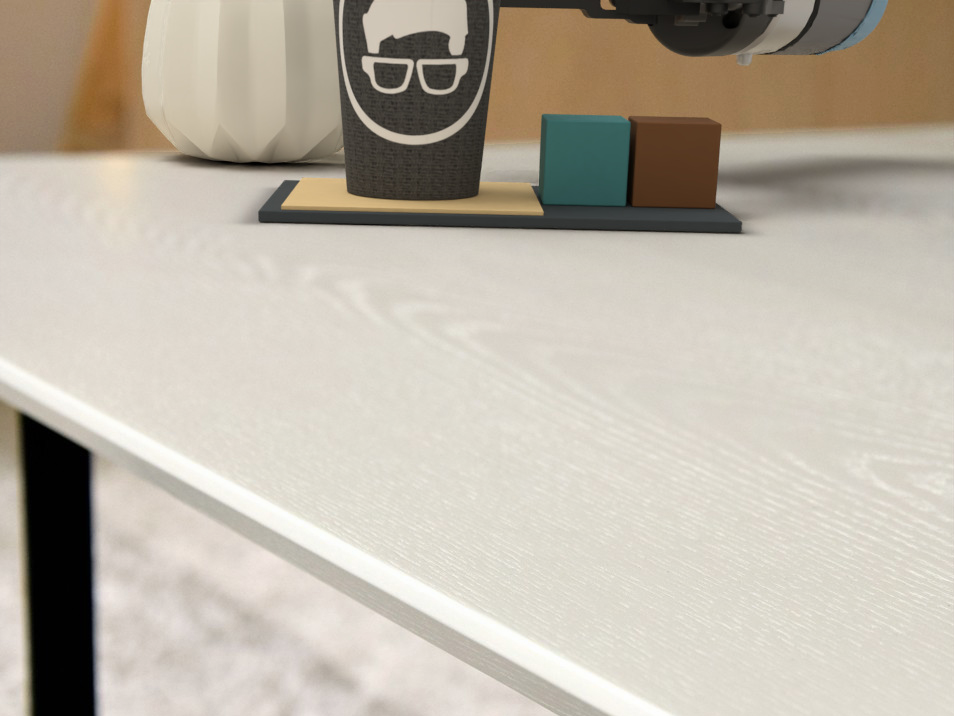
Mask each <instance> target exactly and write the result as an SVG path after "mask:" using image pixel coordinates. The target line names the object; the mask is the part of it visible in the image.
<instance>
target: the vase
mask: <svg viewBox="0 0 954 716" xmlns="http://www.w3.org/2000/svg"><path fill="white" fill-rule="evenodd" d="M147 13H148V14H147V20H146V25H145V30H144V31H145V33H144V38H143V39H144V40H143V46H142V58H141V70H140V71H141V94H142V95H141V96H142V101H143V105H144V109H145V114H146V116H147V118H149V120H150V121H151V122H152V123H153V125H154V126H155V127H156V128H157V129H158V130H159V132H161V134H162V135H163V136H164V137H165V138H166V139H167V140H168V141H169V143H171V144H172V145H173V147H174V148H176V150H177V151H178V152H180V153H181V154H184V155H186V156H191V157H195V158H199V159H204V160H209V161H214V162H232V163H239V164H247V163H264V164H276V163H277V164H278V163H300V162H306V161H312V160H318V159H324V158H328V157H332V156H333V155H335V154H336V153H338V152H340V150H342V149H344V144H343V130H342V116H341V103H340V89H339V76H338V62H337V49H336V35H335V22H334V9H333V0H150V3H149V9H148V12H147Z"/></svg>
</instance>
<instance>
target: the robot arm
mask: <svg viewBox="0 0 954 716" xmlns="http://www.w3.org/2000/svg"><path fill="white" fill-rule="evenodd" d="M601 2H602V0H501V2H500V8H512V9H513V8H514V9H561V10H579V11H581V13H582V15H583V16H584V17H585V18H588V19H595V20H596V19H600V20H625V22H627V23H628V24H632V25H647V27H648V29H649V31H650V32H651V34H652V36H653V37H654V38H655V39H656V41H658V43H660V44H661V45H662V46H663V47H664V48H666V49H667V50H668V51H670V52H672V53H675V54H677V55H680V56H684V57H689V58H700V57H701V58H702V57H703V58H707V57H725V56H735V57H736V60H735V63H736V64H737V65H739V66H746V67H747V66H750V65H751V64H752V63H753V56H755V55H757V56H812V55H814V56H821V55H825V54H828V53H832V52H837V51H843V50H846V49H849V48H851V47H853V46H855V45H857V44H859V43H861V42H862V41H863V40H865V39H866V38H867V37H868V36H869V35H870V34H872V32H873V31H874V30H875V29H876V28H877V26H878V25H879V23H880V22H881V19H882V18H883V16H884V13H885V11H886V9H887V6H888V3H889V0H608V3H609V4H610V5H611V6H612V7H613V8H615V9H605V8H603V7H602V4H601Z"/></svg>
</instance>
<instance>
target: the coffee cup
mask: <svg viewBox="0 0 954 716" xmlns="http://www.w3.org/2000/svg"><path fill="white" fill-rule="evenodd" d="M500 2H501V0H333V9H334V22H335V35H336V49H337V62H338V76H339V89H340V103H341V116H342V130H343V144H344V147H343V157H344V169H345V171H344V172H345V178H346V185H347V191H348V192H349V193H351V194H354V195H358V196H364V197H372V198H382V199H397V200H451V199H462V198H469V197H474V196H476V195H478V193H479V185H480V182H481V175H482V167H483V158H484V149H485V140H486V131H487V124H488V123H487V122H488V116H489V115H488V114H489V105H490V98H491V97H490V96H491V87H492V79H493V70H494V68H493V67H494V63H495V62H494V61H495V54H496V53H495V51H496V44H497V35H498V26H499V17H500V9H501V7H500Z"/></svg>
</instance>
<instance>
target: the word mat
mask: <svg viewBox="0 0 954 716" xmlns="http://www.w3.org/2000/svg"><path fill="white" fill-rule="evenodd" d="M540 120H541V121H540V139H539V140H540V142H539V164H538V165H539V166H538V184H537V185H532V184H531V183H530V182H519V181H517V182H511V181H480V185H479V193H478V195H476V196H474V197H469V198H462V199H451V200H397V199H382V198H372V197H364V196H358V195H354V194H351V193H349V192H348V191H347V185H346V177H345V178H344V177H343V178H338V177H301V178H300V179H298V180H297V179H284V180H283V181H282V183H280V185H279V186H278V187H277V189H275V191H274V192H273V193H272V194H271V195H270V196H269V198H268V199H267V200H266V201H265V202H264V204H263V205H262V206H261V207H260V209H259V210H258V212H257V213H258V214H257V217H258V218H257V220H258V222H262V223H269V222H270V223H299V224H300V223H301V224H304V223H305V224H306V223H308V224H347V225H350V224H352V225H387V226H388V225H389V226H391V225H392V226H396V225H399V226H432V227H433V226H434V227H435V226H436V227H475V228H477V227H478V228H515V229H517V228H518V229H519V228H522V229H524V228H525V229H561V230H562V229H565V230H566V229H567V230H602V231H603V230H604V231H605V230H607V231H609V230H611V231H646V232H647V231H648V232H649V231H651V232H654V231H655V232H688V233H689V232H693V233H735V234H737V233H738V234H740V233H742V229H743V222H742V221H741V220H740V219H739V218H737V217H736V216H734V215H733V214H732V213H731V212H729V210H727V209H725V208H724V207H723V206H721V205H720V204H718V202H717V191H718V179H719V166H720V165H719V164H720V152H721V141H722V140H721V139H722V128H723V125H722V123H720V122H718V121H715V120H714V119H711V118H709V117H703V116H702V117H701V116H700V117H699V116H698V117H696V116H695V117H694V116H693V117H692V116H690V117H689V116H658V115H657V116H656V115H655V116H654V115H651V116H650V115H628V118H625V117H623V116H622V115H610V114H609V115H607V114H568V113H567V114H564V113H559V114H558V113H542V114H541V118H540Z"/></svg>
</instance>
